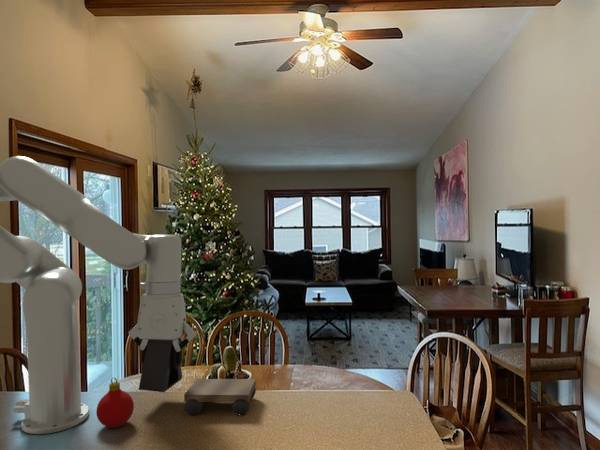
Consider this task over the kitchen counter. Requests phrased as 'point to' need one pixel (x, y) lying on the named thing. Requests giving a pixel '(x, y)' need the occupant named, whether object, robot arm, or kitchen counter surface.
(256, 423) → the kitchen counter surface
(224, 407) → the kitchen counter surface
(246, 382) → the trolley
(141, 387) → the phone stand
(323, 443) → the kitchen counter surface
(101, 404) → the christmas ornament
